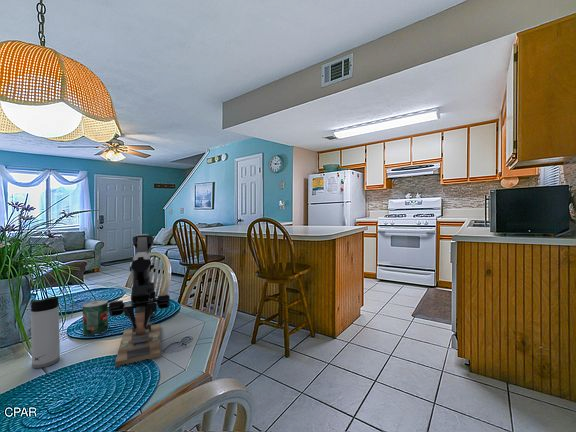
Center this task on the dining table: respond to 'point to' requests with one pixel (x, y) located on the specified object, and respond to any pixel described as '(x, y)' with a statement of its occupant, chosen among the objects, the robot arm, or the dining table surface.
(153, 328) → the press base
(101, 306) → the canned tomato
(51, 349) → the travel mug
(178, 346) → the dining table surface
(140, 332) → the handle
